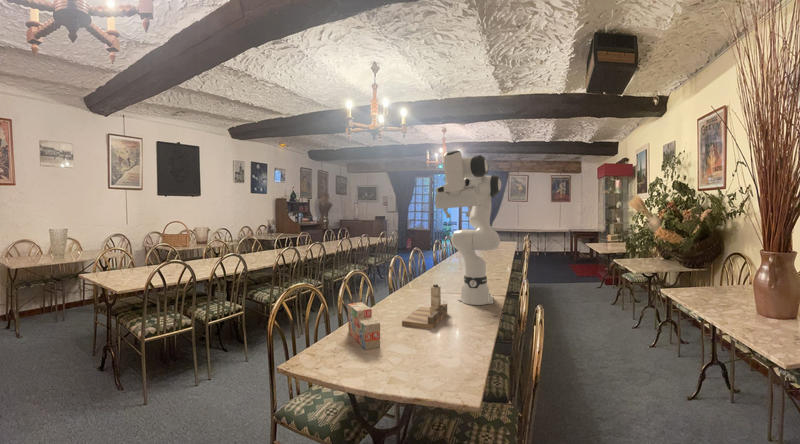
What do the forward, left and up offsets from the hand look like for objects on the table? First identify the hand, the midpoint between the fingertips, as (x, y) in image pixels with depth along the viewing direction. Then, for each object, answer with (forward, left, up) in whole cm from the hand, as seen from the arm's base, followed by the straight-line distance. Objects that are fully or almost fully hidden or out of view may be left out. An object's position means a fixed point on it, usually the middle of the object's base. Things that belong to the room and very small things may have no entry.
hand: (458, 217), depth 169 cm
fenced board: (+7, -14, -47) cm, 49 cm away
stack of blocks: (+39, -29, -47) cm, 68 cm away
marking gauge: (0, -11, -45) cm, 46 cm away
